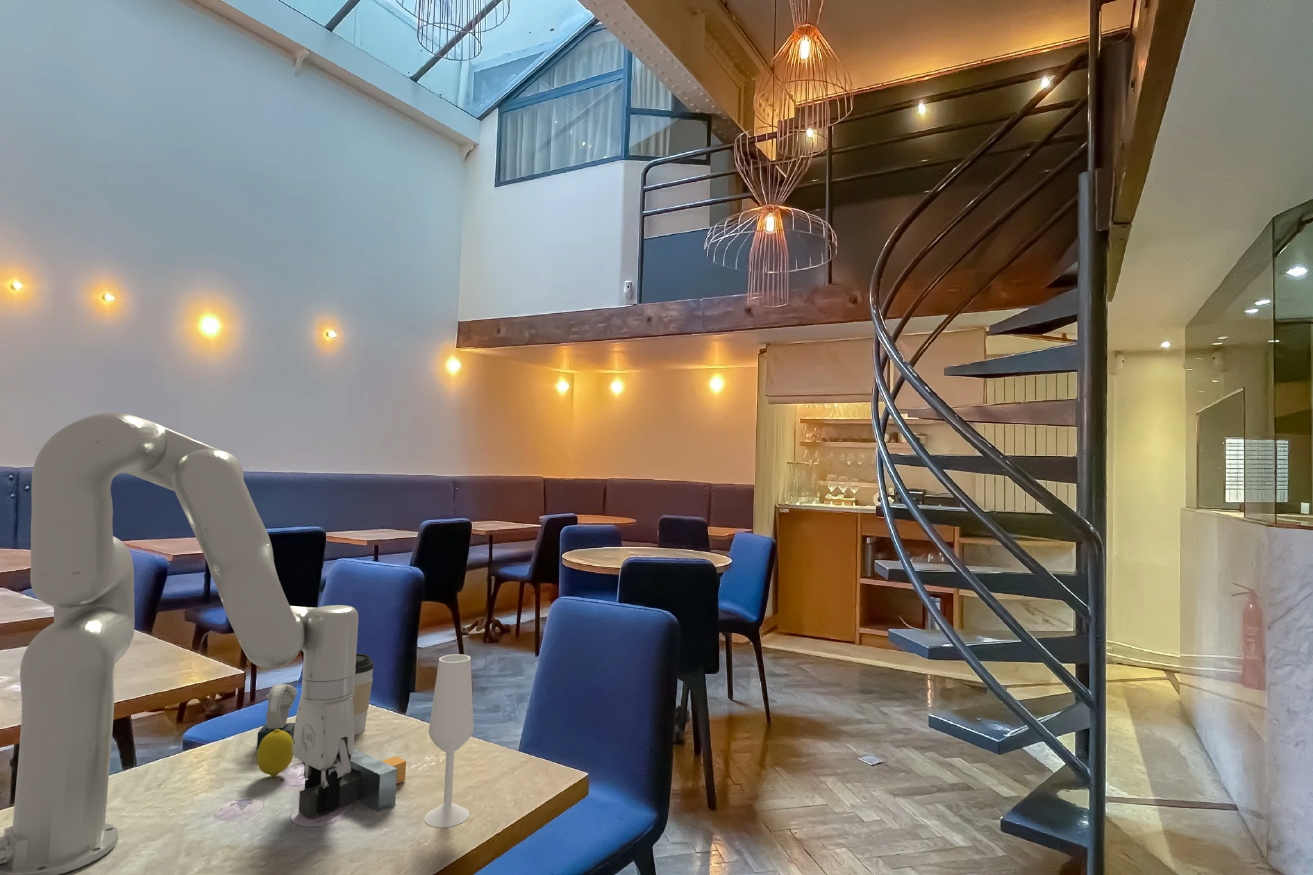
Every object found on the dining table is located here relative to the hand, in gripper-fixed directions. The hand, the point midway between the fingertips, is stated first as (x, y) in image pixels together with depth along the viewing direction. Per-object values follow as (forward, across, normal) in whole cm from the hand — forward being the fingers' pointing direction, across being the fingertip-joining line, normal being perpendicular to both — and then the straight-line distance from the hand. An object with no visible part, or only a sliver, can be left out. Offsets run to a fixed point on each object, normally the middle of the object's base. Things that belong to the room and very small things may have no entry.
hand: (321, 805), depth 104 cm
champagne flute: (+1, +17, +11) cm, 20 cm away
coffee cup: (+1, -27, +20) cm, 34 cm away
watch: (+1, -31, +8) cm, 32 cm away
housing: (+1, 0, +7) cm, 7 cm away
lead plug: (0, 0, +6) cm, 6 cm away
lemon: (+1, -17, +1) cm, 17 cm away
